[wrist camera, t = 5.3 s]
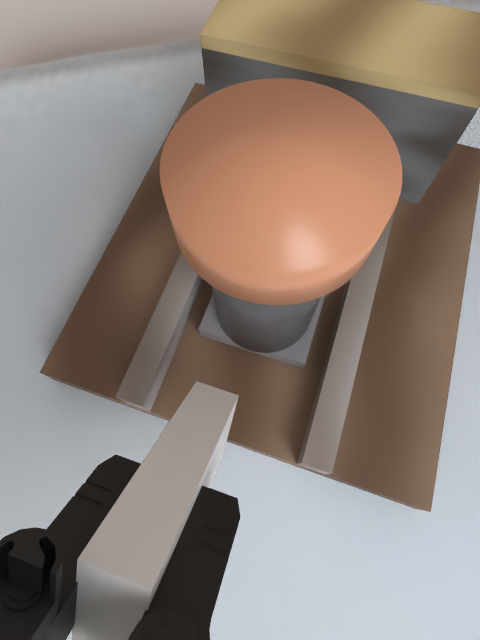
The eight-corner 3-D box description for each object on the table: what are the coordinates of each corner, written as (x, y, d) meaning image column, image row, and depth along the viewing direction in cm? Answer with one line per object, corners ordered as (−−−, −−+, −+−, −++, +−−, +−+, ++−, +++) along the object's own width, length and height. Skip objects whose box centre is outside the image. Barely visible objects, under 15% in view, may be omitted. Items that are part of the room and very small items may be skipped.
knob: (339, 278, 20) (421, 106, 10) (307, 392, 17) (375, 302, 8) (225, 246, 20) (209, 59, 11) (182, 351, 18) (119, 227, 9)
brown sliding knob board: (470, 168, 24) (572, 30, 17) (415, 509, 17) (546, 533, 10) (198, 103, 27) (179, -44, 19) (54, 379, 20) (-65, 320, 12)
